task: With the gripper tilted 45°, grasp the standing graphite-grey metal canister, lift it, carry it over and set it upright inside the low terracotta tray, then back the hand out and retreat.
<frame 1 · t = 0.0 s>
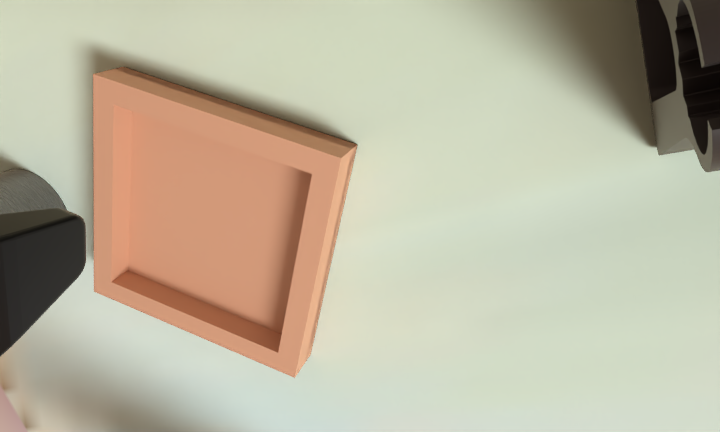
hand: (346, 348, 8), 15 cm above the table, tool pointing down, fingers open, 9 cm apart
canister: (32, 214, 31), on the table
tray: (221, 218, 27), on the table
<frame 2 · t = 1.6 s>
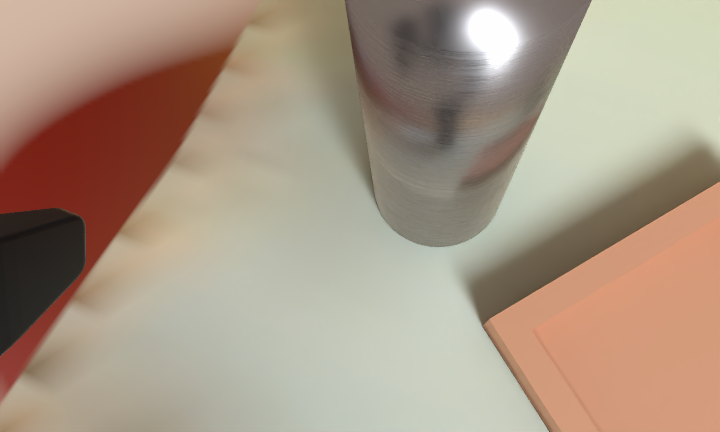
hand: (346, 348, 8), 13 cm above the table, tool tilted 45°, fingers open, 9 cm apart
canister: (437, 185, 23), on the table
tray: (706, 384, 20), on the table
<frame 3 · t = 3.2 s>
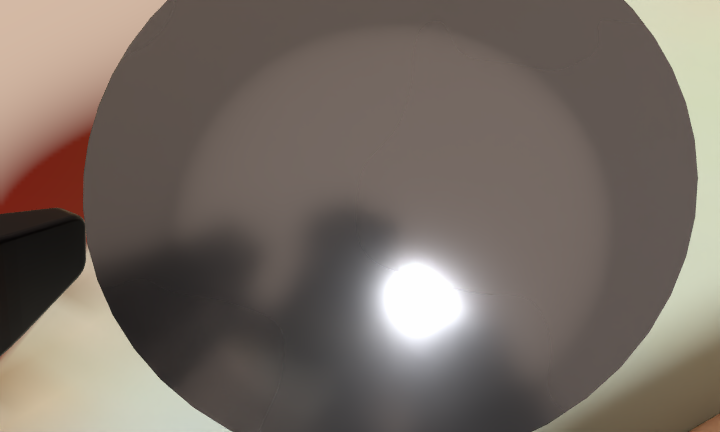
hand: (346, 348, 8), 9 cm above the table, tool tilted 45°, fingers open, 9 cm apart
canister: (403, 345, 17), on the table
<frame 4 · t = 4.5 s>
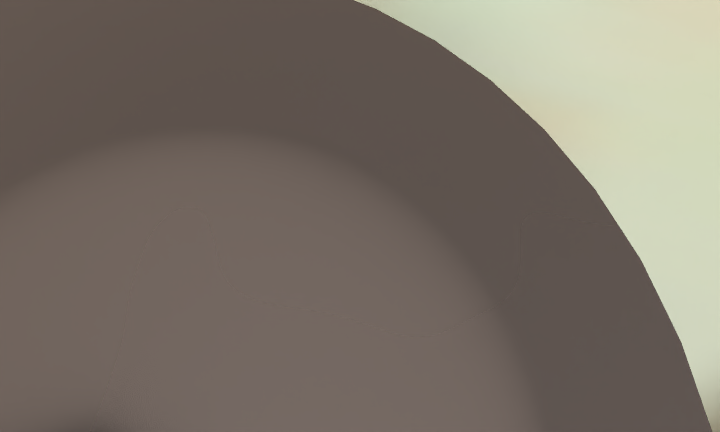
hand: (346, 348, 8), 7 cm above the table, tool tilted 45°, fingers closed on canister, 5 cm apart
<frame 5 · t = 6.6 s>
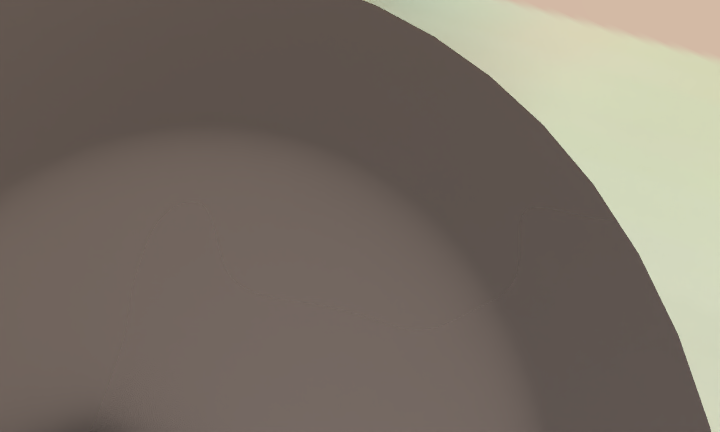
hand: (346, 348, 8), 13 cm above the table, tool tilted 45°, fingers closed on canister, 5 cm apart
when the fingers open (9 cm above the table, at t = 8.5 s): canister drops 1 cm, resting on tray.
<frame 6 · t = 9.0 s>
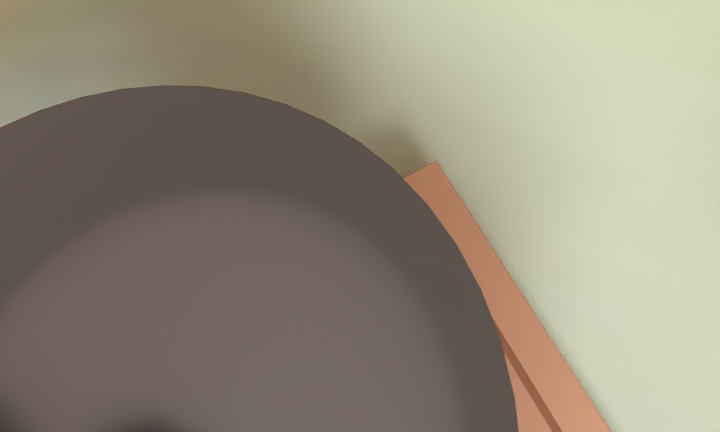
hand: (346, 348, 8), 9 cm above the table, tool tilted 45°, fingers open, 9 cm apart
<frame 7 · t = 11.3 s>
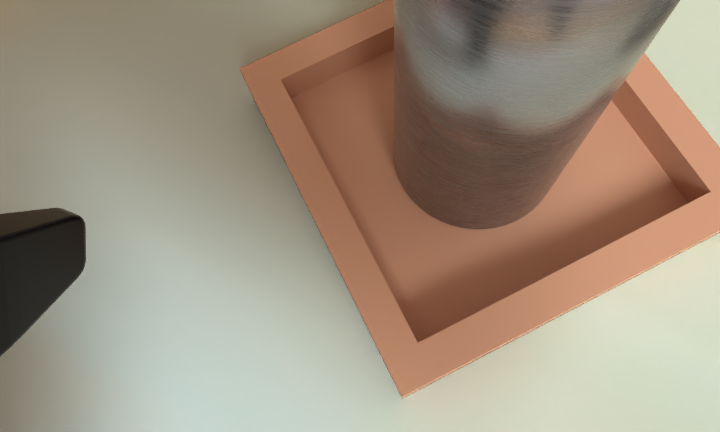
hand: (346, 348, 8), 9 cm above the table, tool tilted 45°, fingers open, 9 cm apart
canister: (474, 152, 18), point 1 cm above the table, touching tray
tray: (475, 157, 19), on the table
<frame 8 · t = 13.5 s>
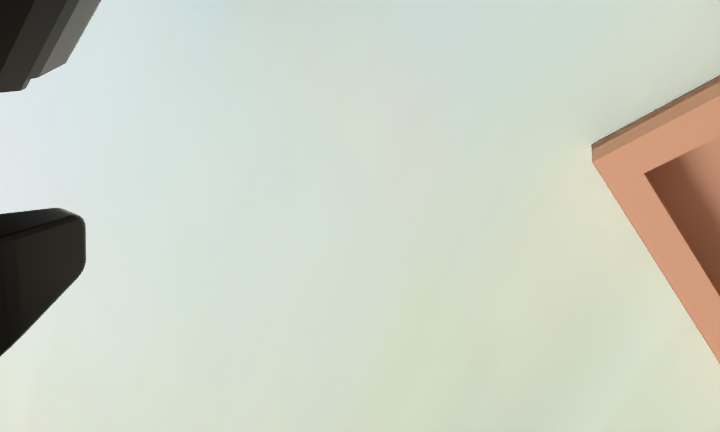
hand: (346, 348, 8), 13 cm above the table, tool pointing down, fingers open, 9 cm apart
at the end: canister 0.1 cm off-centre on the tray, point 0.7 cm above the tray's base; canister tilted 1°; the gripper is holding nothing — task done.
